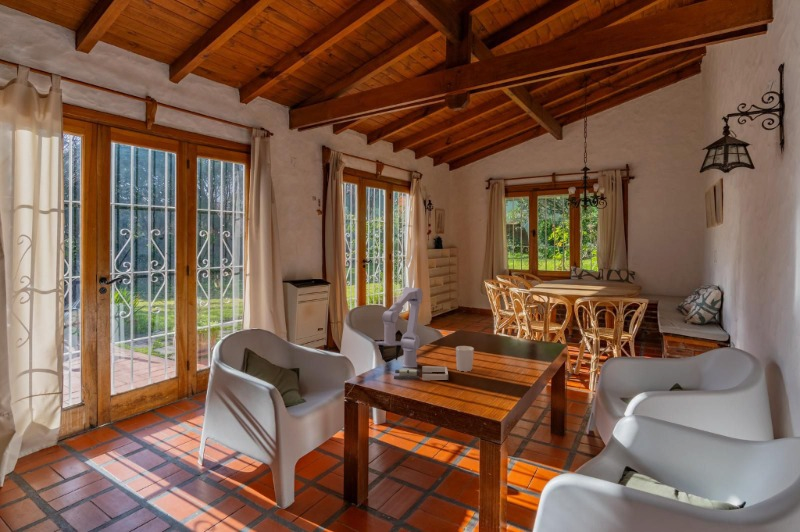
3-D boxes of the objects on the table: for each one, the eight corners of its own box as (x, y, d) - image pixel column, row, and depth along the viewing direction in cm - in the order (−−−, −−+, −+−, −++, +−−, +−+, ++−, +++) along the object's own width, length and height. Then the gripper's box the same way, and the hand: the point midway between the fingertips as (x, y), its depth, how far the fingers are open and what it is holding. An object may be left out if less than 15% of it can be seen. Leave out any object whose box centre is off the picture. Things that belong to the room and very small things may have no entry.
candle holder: (452, 368, 237) (452, 346, 236) (467, 366, 240) (468, 345, 240) (460, 373, 228) (461, 351, 227) (476, 371, 231) (477, 349, 231)
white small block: (399, 374, 226) (399, 369, 226) (407, 374, 226) (407, 369, 226) (399, 377, 222) (399, 371, 222) (406, 377, 222) (406, 371, 222)
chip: (409, 374, 226) (409, 369, 226) (416, 374, 226) (416, 369, 225) (408, 377, 222) (408, 371, 222) (416, 377, 222) (416, 371, 221)
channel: (395, 371, 230) (395, 369, 230) (419, 372, 229) (419, 370, 229) (393, 379, 218) (393, 376, 218) (419, 379, 218) (419, 377, 217)
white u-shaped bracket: (422, 371, 230) (422, 366, 230) (446, 372, 230) (446, 366, 230) (422, 380, 216) (422, 374, 216) (448, 380, 216) (448, 375, 216)
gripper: (375, 335, 219) (375, 361, 220) (403, 335, 219) (403, 361, 219) (376, 332, 226) (376, 357, 227) (404, 332, 226) (404, 358, 226)
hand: (389, 359), depth 224 cm, fingers open, 6 cm apart
